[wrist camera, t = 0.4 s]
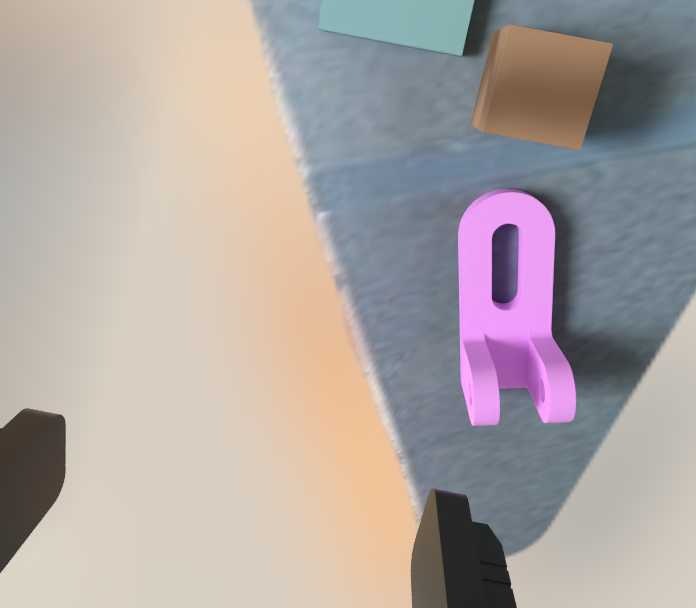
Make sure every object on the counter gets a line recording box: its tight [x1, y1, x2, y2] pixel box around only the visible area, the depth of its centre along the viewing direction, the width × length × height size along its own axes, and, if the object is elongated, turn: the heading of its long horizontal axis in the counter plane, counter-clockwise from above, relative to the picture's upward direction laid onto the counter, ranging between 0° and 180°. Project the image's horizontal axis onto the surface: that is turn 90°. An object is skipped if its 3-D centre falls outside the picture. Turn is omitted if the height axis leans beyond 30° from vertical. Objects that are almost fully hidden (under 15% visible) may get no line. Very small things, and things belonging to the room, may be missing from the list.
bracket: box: [458, 188, 576, 426], centre depth 35 cm, size 13×6×7 cm, turn 5°
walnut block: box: [471, 25, 613, 150], centre depth 31 cm, size 5×5×5 cm
